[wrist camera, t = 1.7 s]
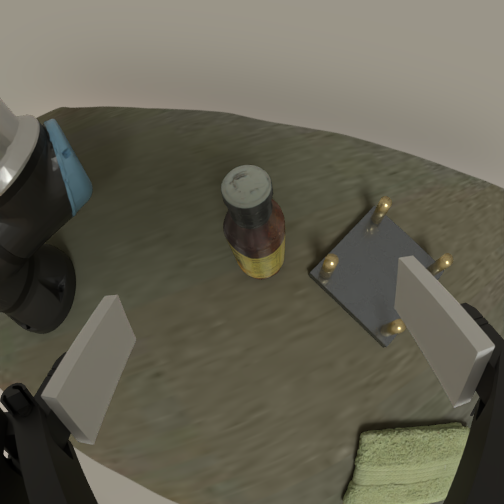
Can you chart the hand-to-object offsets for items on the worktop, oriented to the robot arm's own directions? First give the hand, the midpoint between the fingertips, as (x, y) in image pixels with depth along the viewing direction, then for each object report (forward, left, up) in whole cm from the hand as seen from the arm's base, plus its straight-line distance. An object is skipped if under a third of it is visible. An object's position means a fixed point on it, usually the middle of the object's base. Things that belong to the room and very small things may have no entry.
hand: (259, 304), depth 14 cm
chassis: (+4, +16, -27) cm, 31 cm away
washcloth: (+27, 0, -27) cm, 38 cm away
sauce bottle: (-9, +6, -27) cm, 29 cm away
